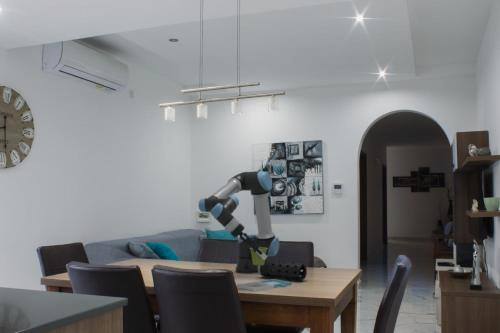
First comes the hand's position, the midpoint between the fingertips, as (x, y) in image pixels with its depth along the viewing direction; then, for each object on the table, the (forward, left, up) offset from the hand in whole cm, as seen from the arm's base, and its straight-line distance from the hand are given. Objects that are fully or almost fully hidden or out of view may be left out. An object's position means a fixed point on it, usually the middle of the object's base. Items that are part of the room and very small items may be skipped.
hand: (264, 257), depth 268 cm
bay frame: (-2, +1, -16) cm, 16 cm away
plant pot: (-2, -3, -4) cm, 5 cm away
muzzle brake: (-11, +24, -16) cm, 31 cm away
